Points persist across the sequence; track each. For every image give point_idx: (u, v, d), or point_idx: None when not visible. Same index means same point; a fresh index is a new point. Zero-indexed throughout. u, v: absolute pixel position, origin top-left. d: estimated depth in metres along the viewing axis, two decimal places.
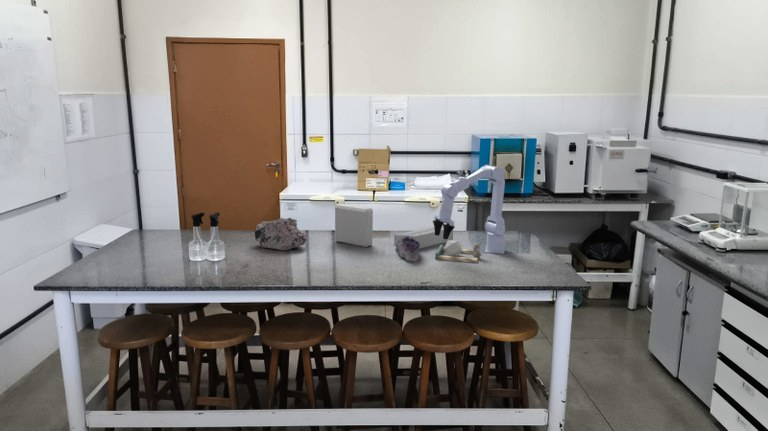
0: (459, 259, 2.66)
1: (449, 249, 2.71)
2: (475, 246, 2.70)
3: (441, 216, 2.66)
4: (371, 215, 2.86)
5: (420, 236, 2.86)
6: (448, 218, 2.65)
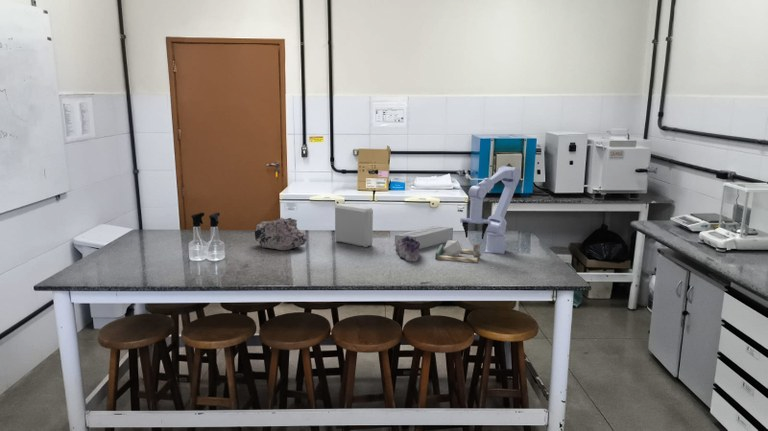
0: (459, 259, 2.66)
1: (449, 249, 2.71)
2: (475, 246, 2.70)
3: (477, 218, 2.68)
4: (371, 215, 2.86)
5: (421, 236, 2.86)
6: (481, 218, 2.71)
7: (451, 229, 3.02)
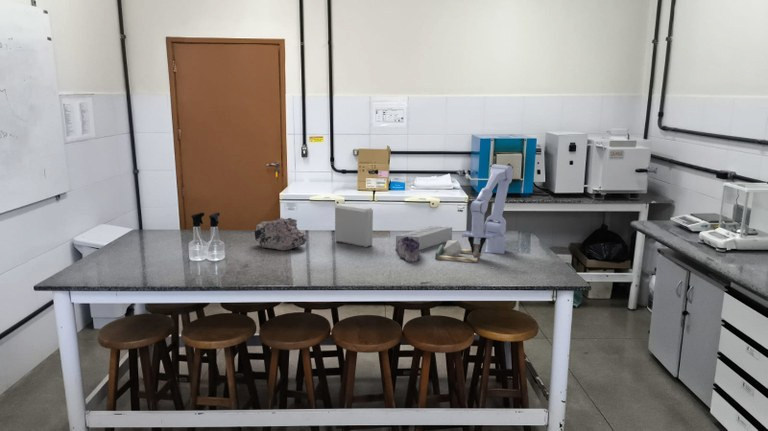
0: (459, 259, 2.66)
1: (449, 249, 2.71)
2: (475, 246, 2.70)
3: (479, 233, 2.67)
4: (370, 215, 2.86)
5: (423, 236, 2.85)
6: None
7: (450, 229, 3.03)
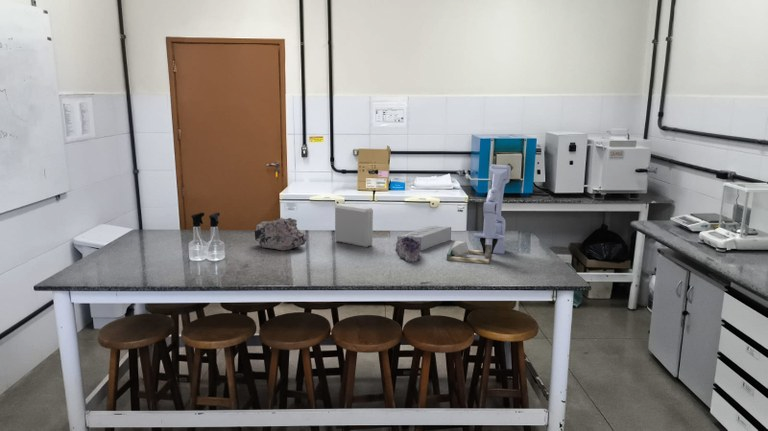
0: (471, 260, 2.65)
1: (455, 250, 2.70)
2: (487, 247, 2.69)
3: (490, 234, 2.66)
4: (371, 215, 2.86)
5: (425, 236, 2.85)
6: (495, 234, 2.68)
7: (450, 228, 3.04)
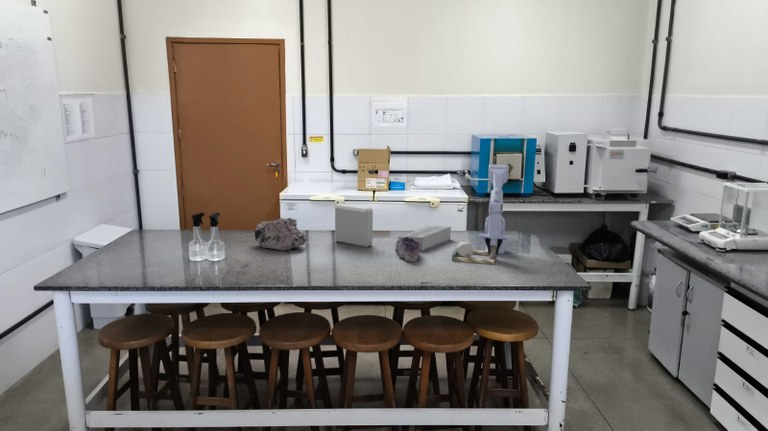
0: (476, 260, 2.64)
1: (458, 250, 2.69)
2: (492, 247, 2.68)
3: (496, 234, 2.65)
4: (371, 215, 2.86)
5: (426, 237, 2.85)
6: (500, 234, 2.67)
7: (449, 228, 3.05)
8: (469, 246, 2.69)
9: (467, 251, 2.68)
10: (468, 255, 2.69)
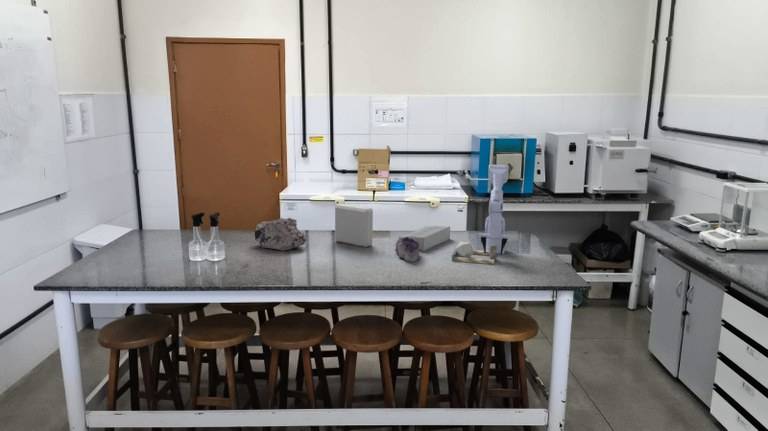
0: (476, 260, 2.64)
1: (458, 250, 2.69)
2: (492, 247, 2.68)
3: (496, 234, 2.65)
4: (370, 215, 2.86)
5: (428, 237, 2.85)
6: (500, 233, 2.67)
7: (449, 228, 3.05)
8: (469, 246, 2.69)
9: (467, 251, 2.68)
10: (468, 255, 2.69)
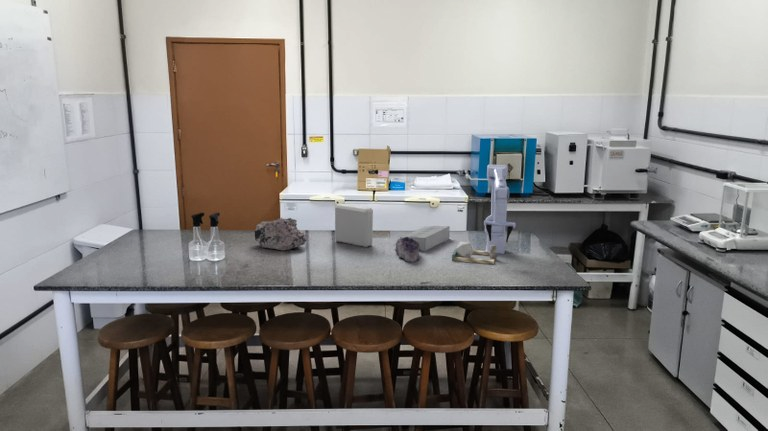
0: (476, 260, 2.64)
1: (458, 250, 2.69)
2: (492, 247, 2.68)
3: (501, 221, 2.59)
4: (370, 215, 2.86)
5: (429, 237, 2.85)
6: (505, 221, 2.62)
7: (448, 228, 3.06)
8: (469, 246, 2.69)
9: (467, 251, 2.68)
10: (468, 255, 2.69)
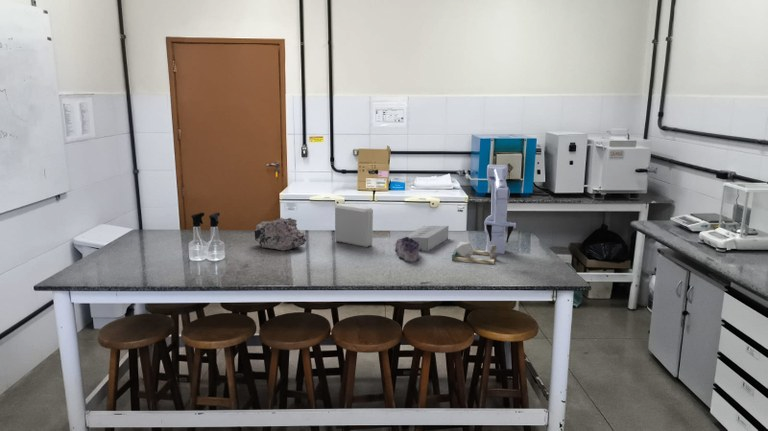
0: (476, 260, 2.64)
1: (458, 250, 2.69)
2: (492, 247, 2.68)
3: (502, 221, 2.59)
4: (370, 215, 2.86)
5: (431, 237, 2.85)
6: None
7: (447, 227, 3.06)
8: (469, 246, 2.69)
9: (467, 251, 2.68)
10: (468, 255, 2.69)
